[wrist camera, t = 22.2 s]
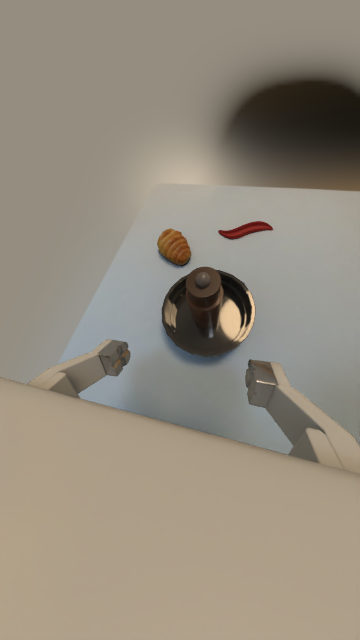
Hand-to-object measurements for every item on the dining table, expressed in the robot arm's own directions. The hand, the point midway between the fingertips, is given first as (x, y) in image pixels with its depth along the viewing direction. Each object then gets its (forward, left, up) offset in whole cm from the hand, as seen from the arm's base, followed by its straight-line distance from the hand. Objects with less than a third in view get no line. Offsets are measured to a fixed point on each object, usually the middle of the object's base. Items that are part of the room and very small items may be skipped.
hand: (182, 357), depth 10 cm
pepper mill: (-7, -6, -19) cm, 21 cm away
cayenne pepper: (-28, -15, -19) cm, 37 cm away
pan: (-7, -6, -19) cm, 21 cm away
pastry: (-14, -24, -19) cm, 34 cm away
